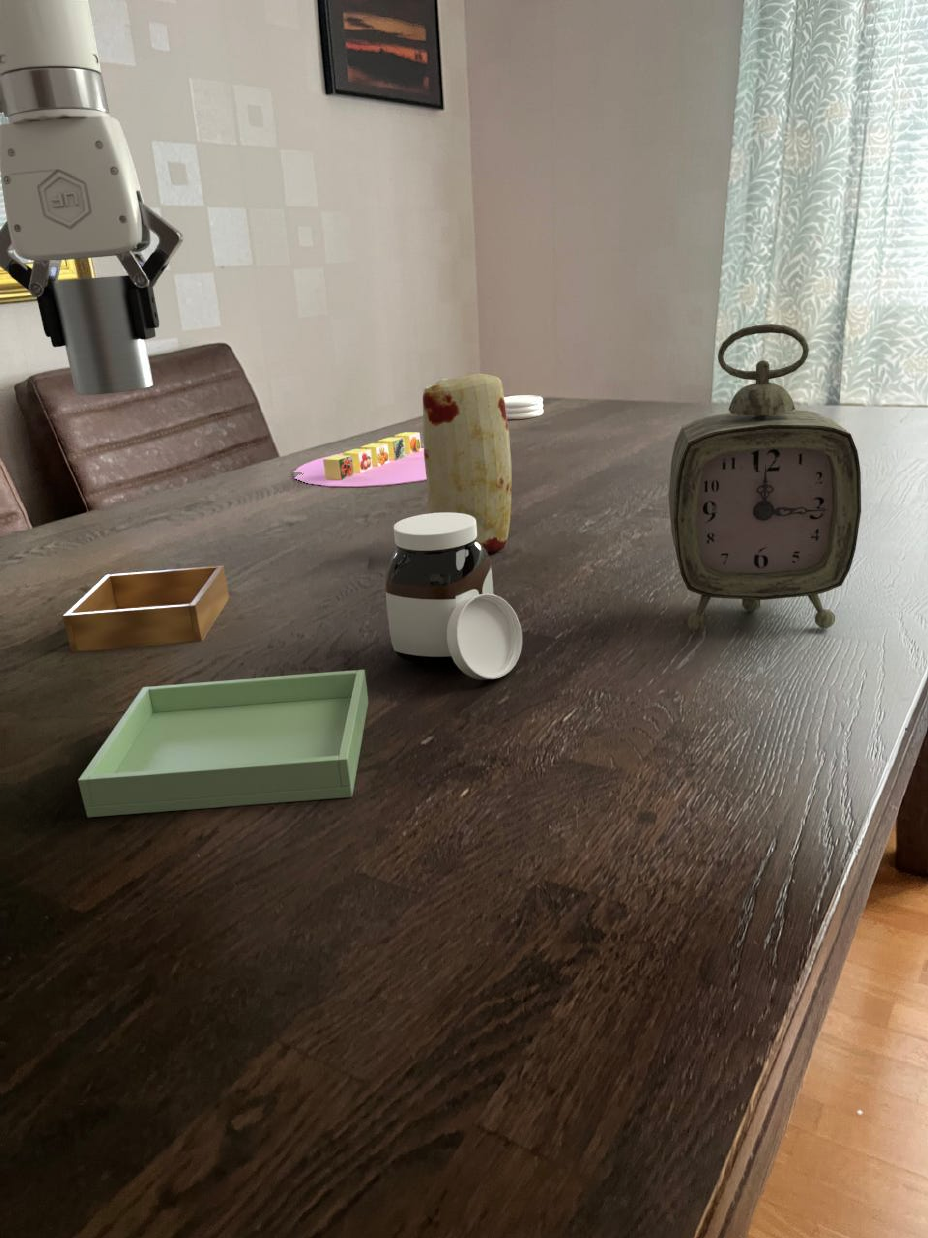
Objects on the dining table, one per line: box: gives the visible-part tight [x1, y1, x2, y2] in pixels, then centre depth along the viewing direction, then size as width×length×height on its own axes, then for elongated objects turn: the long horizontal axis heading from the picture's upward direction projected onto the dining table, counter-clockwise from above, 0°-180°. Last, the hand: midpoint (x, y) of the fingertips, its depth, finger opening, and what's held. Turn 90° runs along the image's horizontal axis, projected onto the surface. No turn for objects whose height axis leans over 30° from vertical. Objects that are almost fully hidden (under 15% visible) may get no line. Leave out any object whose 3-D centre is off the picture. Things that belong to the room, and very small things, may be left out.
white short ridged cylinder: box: [504, 394, 544, 420], centre depth 199 cm, size 10×10×4 cm
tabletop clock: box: [668, 323, 862, 632], centre depth 81 cm, size 14×9×25 cm, turn 82°
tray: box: [77, 669, 369, 818], centre depth 68 cm, size 17×14×3 cm
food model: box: [422, 373, 513, 554], centre depth 107 cm, size 10×7×20 cm
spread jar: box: [384, 512, 523, 681], centre depth 80 cm, size 12×11×12 cm
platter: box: [293, 431, 427, 488], centre depth 162 cm, size 32×32×3 cm
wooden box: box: [62, 564, 230, 653], centre depth 94 cm, size 12×12×4 cm
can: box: [51, 274, 154, 396], centre depth 81 cm, size 6×6×9 cm
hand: (105, 339), depth 81 cm, fingers closed on can, 6 cm apart
